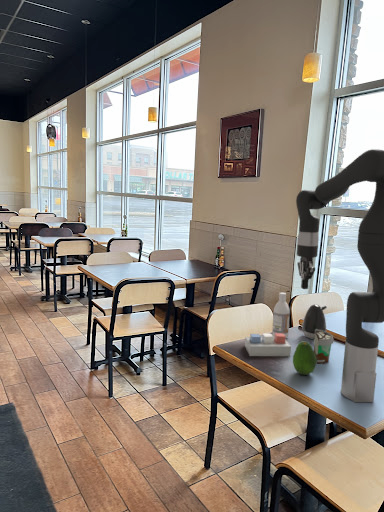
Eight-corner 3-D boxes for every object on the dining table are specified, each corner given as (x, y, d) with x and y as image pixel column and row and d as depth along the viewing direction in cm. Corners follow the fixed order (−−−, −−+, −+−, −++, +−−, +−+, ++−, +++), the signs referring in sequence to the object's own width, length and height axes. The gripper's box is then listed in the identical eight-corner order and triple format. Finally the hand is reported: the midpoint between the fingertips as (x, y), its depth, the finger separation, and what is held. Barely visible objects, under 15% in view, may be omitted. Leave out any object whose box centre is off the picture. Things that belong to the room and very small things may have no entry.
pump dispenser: (330, 341, 162) (333, 307, 159) (309, 342, 159) (311, 308, 157) (317, 332, 172) (320, 301, 169) (297, 334, 169) (299, 302, 167)
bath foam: (286, 340, 161) (289, 295, 158) (270, 337, 164) (273, 293, 161) (289, 335, 167) (292, 292, 164) (273, 332, 170) (276, 290, 167)
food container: (334, 367, 136) (336, 341, 134) (317, 365, 137) (319, 339, 136) (329, 354, 148) (331, 330, 146) (313, 352, 149) (315, 328, 148)
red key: (284, 346, 148) (285, 336, 147) (276, 346, 147) (277, 336, 147) (282, 343, 151) (283, 333, 150) (274, 343, 151) (274, 333, 150)
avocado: (287, 372, 131) (289, 340, 129) (302, 367, 135) (304, 335, 134) (305, 381, 125) (307, 347, 123) (320, 376, 129) (323, 343, 127)
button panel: (290, 356, 145) (291, 346, 144) (249, 356, 144) (250, 346, 143) (282, 346, 155) (283, 337, 154) (244, 345, 154) (245, 336, 153)
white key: (272, 347, 147) (273, 336, 147) (264, 347, 147) (264, 336, 146) (270, 343, 151) (270, 333, 150) (262, 343, 151) (262, 333, 150)
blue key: (260, 347, 147) (260, 336, 146) (251, 347, 147) (252, 336, 146) (258, 344, 150) (258, 333, 150) (249, 344, 150) (250, 333, 150)
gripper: (324, 246, 133) (320, 293, 136) (310, 242, 146) (307, 284, 149) (304, 245, 133) (300, 292, 135) (292, 241, 146) (289, 284, 148)
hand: (304, 288), depth 142 cm, fingers closed
